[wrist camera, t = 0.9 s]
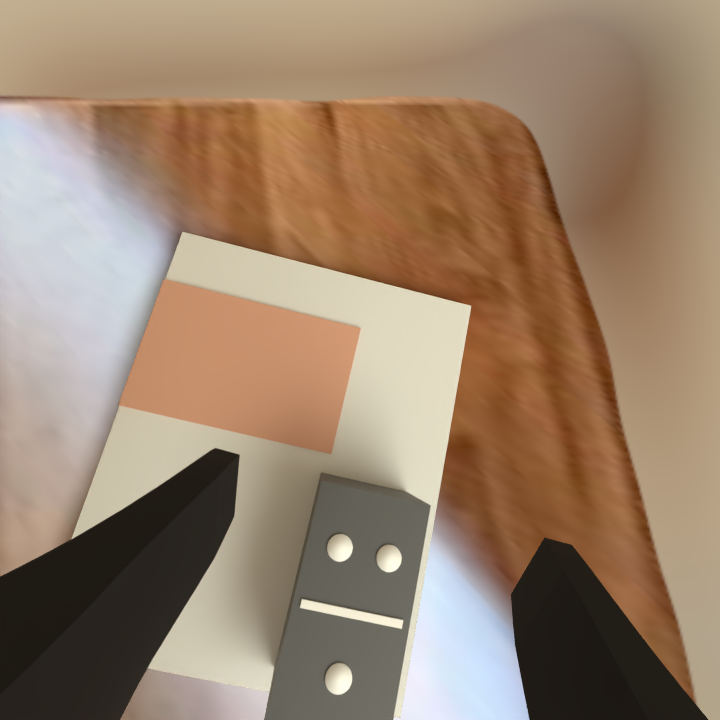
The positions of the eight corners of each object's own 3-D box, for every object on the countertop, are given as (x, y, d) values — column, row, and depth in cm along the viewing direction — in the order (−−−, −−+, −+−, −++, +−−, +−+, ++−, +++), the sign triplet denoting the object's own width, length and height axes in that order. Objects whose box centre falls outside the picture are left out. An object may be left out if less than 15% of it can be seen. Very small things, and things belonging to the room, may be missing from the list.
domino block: (369, 686, 19) (386, 763, 14) (274, 667, 18) (260, 739, 14) (406, 491, 21) (431, 505, 16) (321, 472, 20) (321, 480, 16)
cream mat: (397, 709, 19) (401, 719, 18) (41, 639, 18) (30, 648, 17) (467, 309, 24) (472, 304, 23) (185, 237, 23) (181, 230, 22)
